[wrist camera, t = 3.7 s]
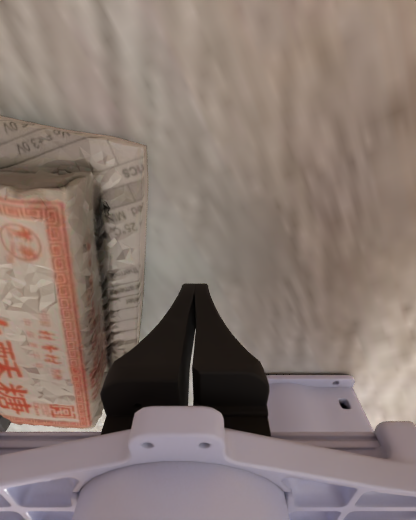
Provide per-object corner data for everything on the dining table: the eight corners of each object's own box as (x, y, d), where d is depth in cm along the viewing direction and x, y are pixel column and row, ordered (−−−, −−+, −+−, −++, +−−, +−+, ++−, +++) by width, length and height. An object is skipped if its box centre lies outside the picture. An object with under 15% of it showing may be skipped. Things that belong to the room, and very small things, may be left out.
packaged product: (124, 443, 18) (-37, 430, 17) (140, 377, 22) (11, 364, 21) (126, 162, 9) (-227, 103, 8) (153, 139, 13) (-77, 98, 12)
